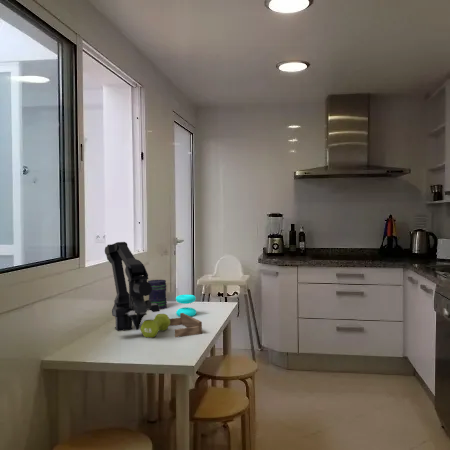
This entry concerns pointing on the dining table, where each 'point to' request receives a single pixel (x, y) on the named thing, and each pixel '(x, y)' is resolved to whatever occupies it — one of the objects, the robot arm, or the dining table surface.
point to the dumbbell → (155, 325)
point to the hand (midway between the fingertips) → (137, 329)
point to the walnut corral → (186, 325)
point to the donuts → (185, 300)
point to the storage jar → (158, 293)
